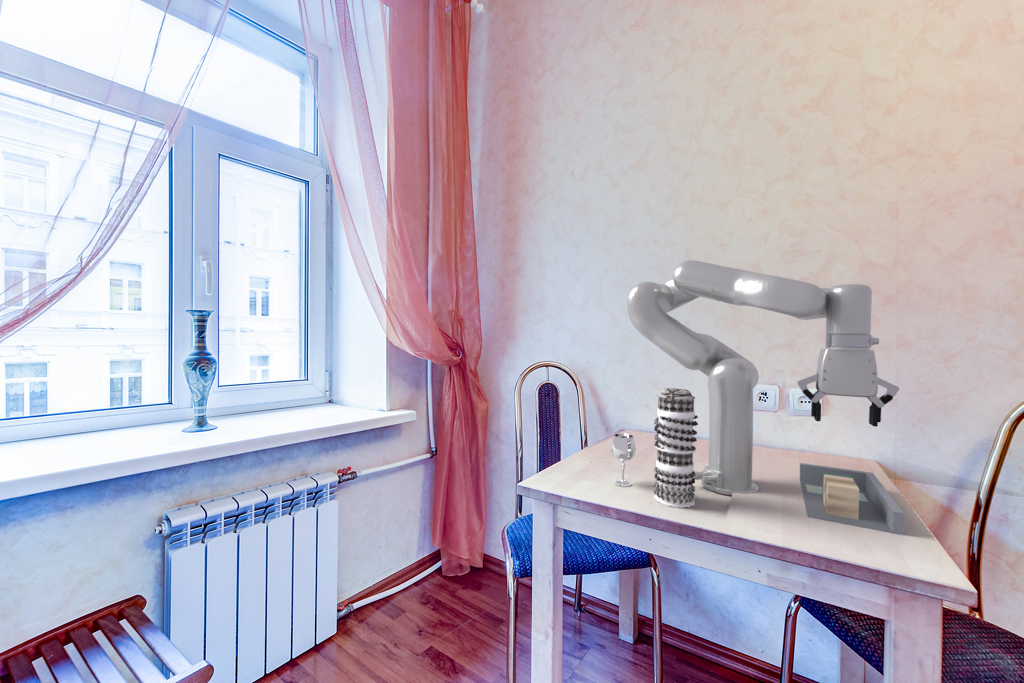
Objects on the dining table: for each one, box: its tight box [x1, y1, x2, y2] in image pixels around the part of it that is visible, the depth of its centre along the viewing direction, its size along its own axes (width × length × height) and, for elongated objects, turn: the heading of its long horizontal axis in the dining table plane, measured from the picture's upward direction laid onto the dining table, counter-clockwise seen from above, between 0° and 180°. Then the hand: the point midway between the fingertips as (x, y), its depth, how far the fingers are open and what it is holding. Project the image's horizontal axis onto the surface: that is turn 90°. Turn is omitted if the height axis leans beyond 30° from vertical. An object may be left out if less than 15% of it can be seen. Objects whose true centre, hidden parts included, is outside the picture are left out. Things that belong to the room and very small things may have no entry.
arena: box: [799, 462, 905, 536], centre depth 95 cm, size 28×14×5 cm, turn 149°
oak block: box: [822, 472, 859, 520], centre depth 91 cm, size 10×5×6 cm, turn 149°
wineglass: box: [611, 433, 636, 485], centre depth 107 cm, size 6×6×12 cm
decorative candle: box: [653, 387, 699, 508], centre depth 97 cm, size 9×9×25 cm
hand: (844, 422), depth 92 cm, fingers open, 9 cm apart
